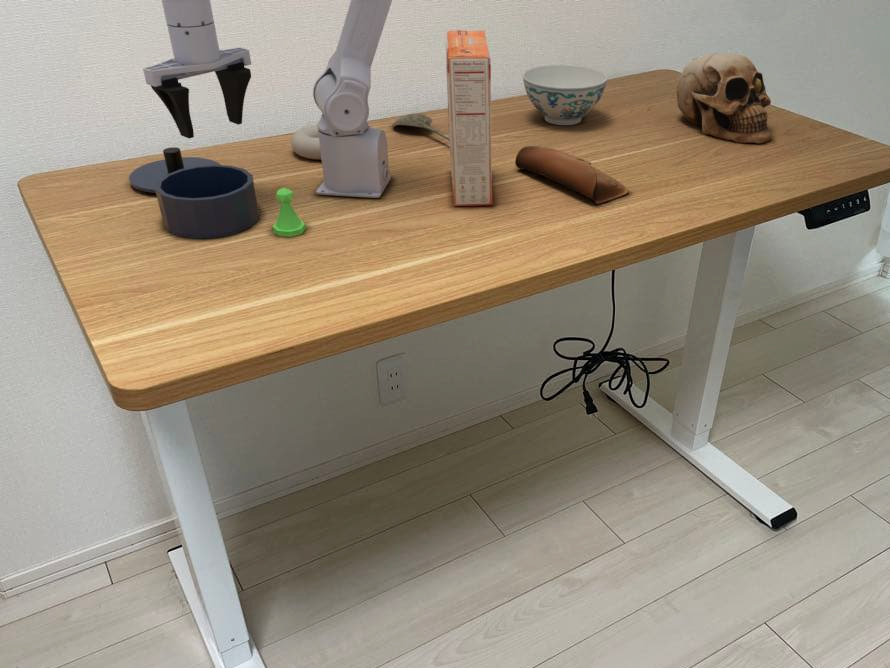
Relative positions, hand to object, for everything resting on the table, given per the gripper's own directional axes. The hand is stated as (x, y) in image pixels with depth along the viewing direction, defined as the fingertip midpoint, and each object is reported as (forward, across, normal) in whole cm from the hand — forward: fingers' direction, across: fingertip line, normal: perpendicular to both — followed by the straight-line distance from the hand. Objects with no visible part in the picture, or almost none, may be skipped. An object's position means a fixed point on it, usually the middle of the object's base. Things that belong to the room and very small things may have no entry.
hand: (212, 129), depth 115 cm
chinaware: (+11, -63, +13) cm, 65 cm away
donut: (+11, -22, -6) cm, 25 cm away
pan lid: (+10, 0, -12) cm, 16 cm away
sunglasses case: (+11, -40, +32) cm, 52 cm away
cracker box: (+11, -27, +23) cm, 37 cm away
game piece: (+11, 0, +14) cm, 18 cm away
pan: (+10, +5, +4) cm, 12 cm away
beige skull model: (+11, -79, +37) cm, 88 cm away
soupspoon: (+11, -39, +4) cm, 40 cm away
